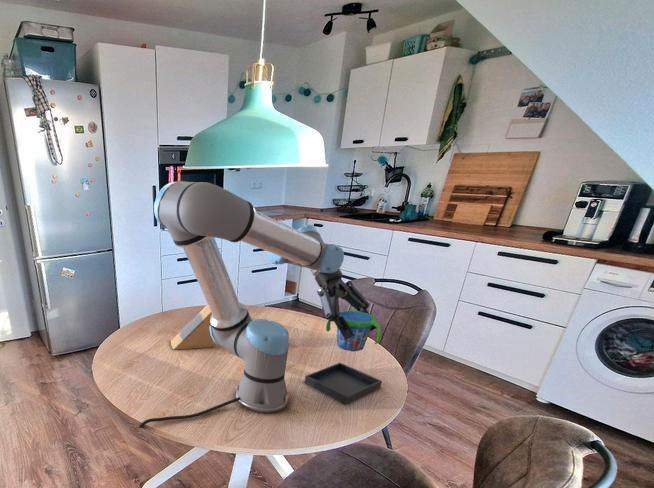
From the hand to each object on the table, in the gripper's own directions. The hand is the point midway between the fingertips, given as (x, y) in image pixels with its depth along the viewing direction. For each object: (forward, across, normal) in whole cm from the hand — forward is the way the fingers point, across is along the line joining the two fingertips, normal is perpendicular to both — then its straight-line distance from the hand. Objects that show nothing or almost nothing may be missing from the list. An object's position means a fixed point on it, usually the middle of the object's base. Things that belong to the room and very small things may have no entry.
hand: (361, 333), depth 114 cm
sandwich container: (-26, +23, -52) cm, 63 cm away
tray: (+11, +1, -14) cm, 18 cm away
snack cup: (+2, 0, -6) cm, 6 cm away
